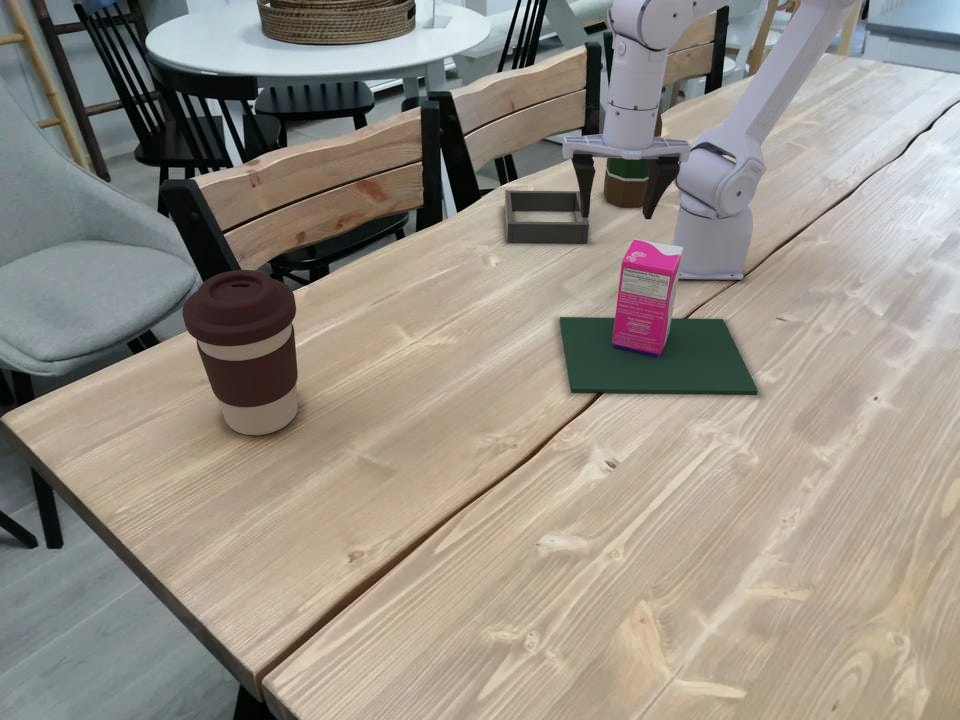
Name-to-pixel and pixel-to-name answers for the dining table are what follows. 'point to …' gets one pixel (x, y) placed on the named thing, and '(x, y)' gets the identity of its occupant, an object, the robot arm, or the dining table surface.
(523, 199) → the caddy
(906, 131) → the dining table surface
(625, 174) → the beer bottle
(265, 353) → the coffee cup
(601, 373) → the mat
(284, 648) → the dining table surface
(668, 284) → the supplement box
